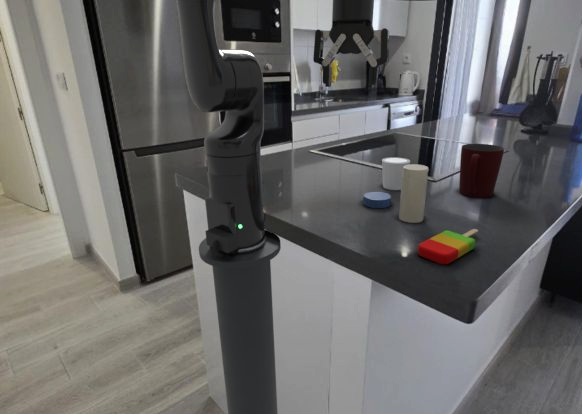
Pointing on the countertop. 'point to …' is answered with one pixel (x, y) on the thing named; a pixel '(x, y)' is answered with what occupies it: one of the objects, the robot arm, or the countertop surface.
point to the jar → (413, 193)
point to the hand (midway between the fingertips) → (349, 87)
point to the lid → (377, 200)
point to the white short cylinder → (393, 172)
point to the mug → (479, 169)
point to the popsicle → (447, 246)
